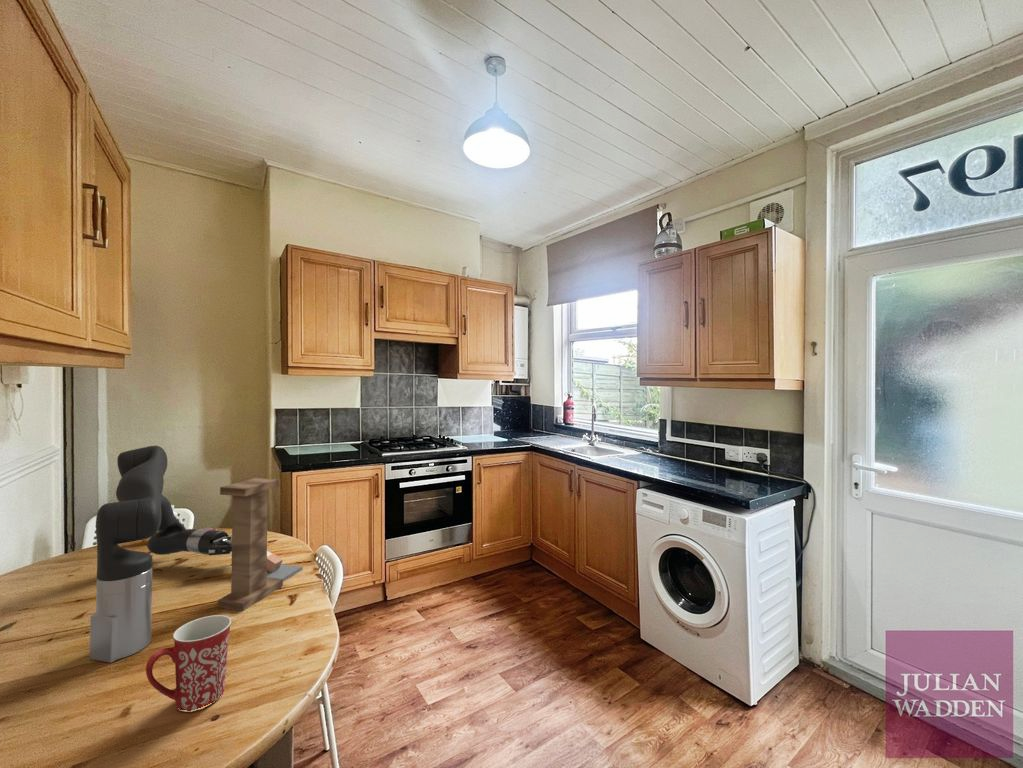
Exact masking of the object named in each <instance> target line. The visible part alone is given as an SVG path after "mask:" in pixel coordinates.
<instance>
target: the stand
mask: <svg viewBox="0 0 1023 768" xmlns="http://www.w3.org/2000/svg"><path fill="white" fill-rule="evenodd" d="M279 483H280V479H277V478H263V477H255V478H251V479H247V480H243V481H239V482H235V483H232V484H228V485H224V486H220V487H219V489H220V490H219V495H222V496H232V511H231V513H232V516H231V518H232V519H231V520H232V521H231V536H232V552H231V571H230V572H231V573H230V574H231V576H230V577H231V578H230V579H231V580H230V583H231V584H230V586H231V587H230V593H228V594H226V595H224V596H223V597H221V598H219V599H218V600H217V608H218V609H219V608H220V609H226V610H227V609H228V610H235V611H240V610H241V612H244V611H245V610H247V609H248V608H251V607H252V606H254V605H255V604H257V603H258V602H260V601H262V600H263V599H265V598H266V597H268V596H270V595H271V594H273V593H274V592H275V591H277V590H279V589H281V588H282V587H283V585H284V581H283V579H275V578H267V551H268V518H269V517H268V516H269V515H268V514H269V511H268V510H269V509H268V507H269V500H268V499H269V496H268V495H269V490H270V489H274V488H277V487H279Z"/></svg>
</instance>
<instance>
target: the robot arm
mask: <svg viewBox="0 0 1023 768" xmlns="http://www.w3.org/2000/svg"><path fill="white" fill-rule="evenodd" d="M168 461H169V460H168V456H167V453H166V451H165V449H164V448H163V447H161V446H159V445H148V446H145V447H140V448H134V449H129V450H127V451H122V452H120V453H119V454H118V456H117V461H116V462H117V467H118V473H119V474H120V476H121V478H120V479H119V482H118V485H117V487H116V490H115V496H116V499H117V501H116V502H115V501H114V502H108V503H104V504H102V505H101V506H100V507H99V509H98V511H97V513H96V517H95V518H96V519H95V537H96V553H97V555H96V557H97V559H96V593H95V594H96V595H95V596H96V597H95V598H96V600H95V613H93V614H91V615H90V620H89V621H90V622H89V625H90V626H89V627H90V628H89V631H90V632H89V660H93V661H99V662H105V663H113V662H115V661H117V660H121V659H122V658H127V657H130V656H131V655H134V654H136V653H138V652H140V651H142V650H143V649H144V648H146V647H147V646H148V645H149V644H150V643H151V641H152V610H153V609H152V607H153V606H152V605H153V604H152V602H153V600H152V597H153V556H152V554H154V555H155V554H156V555H159V556H165V555H171V554H177V553H180V552H187V553H195V554H199V555H208V556H221V555H230V554H231V553H232V541H230V539H231V537H232V535H229V534H228V533H227V532H226V531H225V530H219V529H217V530H199V529H197V528H196V529H195V528H186V527H185V526H184V524H182V522H180V521H179V518H178V517H177V518H176V517H175V516H174V513H173V510H172V507H171V505H172V504H171V502H170V500H169V499H168V498H167V497H166V496H164V495H163V490H164V484H165V483H164V482H165V481H164V476H165V474H166V471H167V468H168ZM218 530H219V531H218ZM158 531H159V532H158ZM147 539H148V541H147V543H146V546H147V549H148V551H149V552H151V553H152V554H150V553H149V552H145V551H139V550H138V551H137V550H131V549H126V548H123V547H121V546H120V545H119V544H126V543H131V542H132V543H133V542H137V541H144V540H147Z"/></svg>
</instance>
